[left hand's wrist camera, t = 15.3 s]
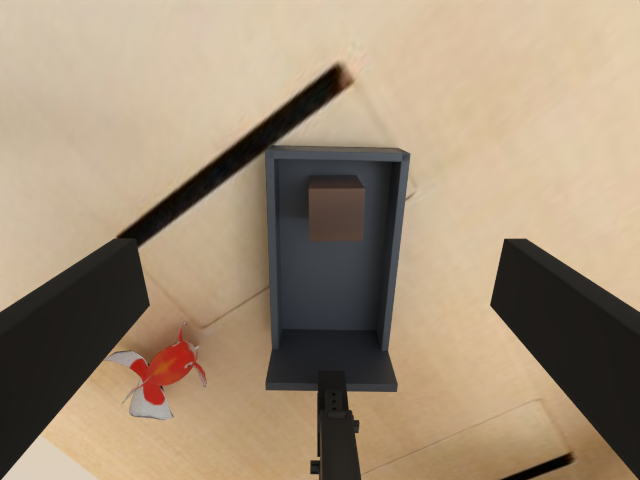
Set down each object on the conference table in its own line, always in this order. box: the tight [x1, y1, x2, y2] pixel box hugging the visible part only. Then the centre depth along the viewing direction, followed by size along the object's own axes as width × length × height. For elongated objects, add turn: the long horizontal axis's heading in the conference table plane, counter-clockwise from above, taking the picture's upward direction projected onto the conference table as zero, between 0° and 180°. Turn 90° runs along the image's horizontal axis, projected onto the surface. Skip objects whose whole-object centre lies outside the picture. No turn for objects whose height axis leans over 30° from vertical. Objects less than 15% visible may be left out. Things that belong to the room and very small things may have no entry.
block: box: [308, 175, 365, 241], centre depth 34 cm, size 5×5×7 cm
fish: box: [104, 322, 206, 420], centre depth 42 cm, size 11×16×10 cm
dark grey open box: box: [265, 145, 410, 392], centre depth 36 cm, size 24×14×10 cm, turn 179°
